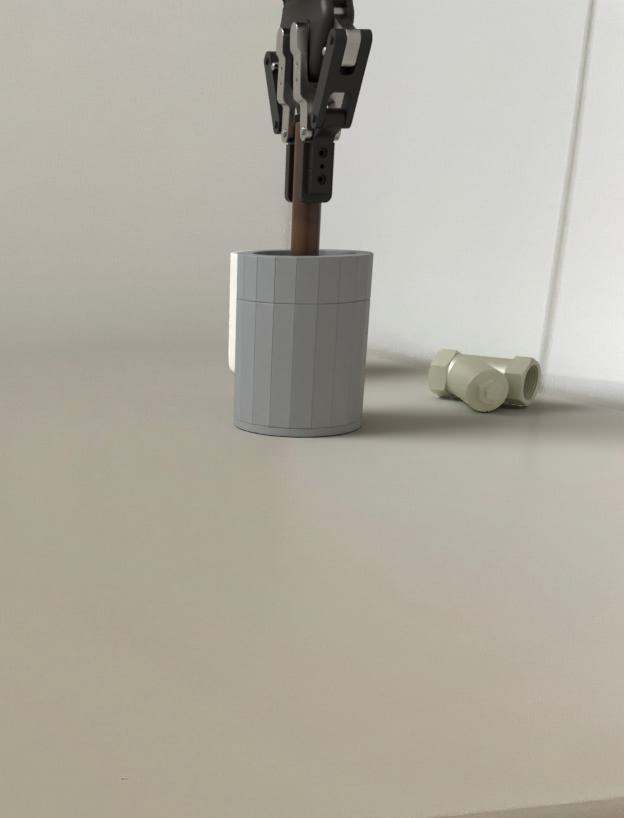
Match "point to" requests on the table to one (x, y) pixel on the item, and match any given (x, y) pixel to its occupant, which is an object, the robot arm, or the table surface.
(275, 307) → the cup
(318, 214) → the hammer
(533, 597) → the table surface
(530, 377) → the pipe fitting
